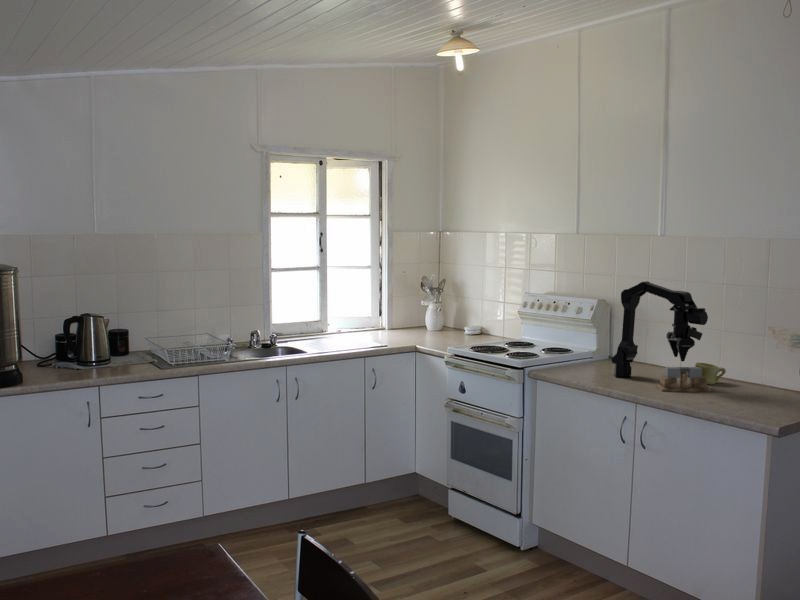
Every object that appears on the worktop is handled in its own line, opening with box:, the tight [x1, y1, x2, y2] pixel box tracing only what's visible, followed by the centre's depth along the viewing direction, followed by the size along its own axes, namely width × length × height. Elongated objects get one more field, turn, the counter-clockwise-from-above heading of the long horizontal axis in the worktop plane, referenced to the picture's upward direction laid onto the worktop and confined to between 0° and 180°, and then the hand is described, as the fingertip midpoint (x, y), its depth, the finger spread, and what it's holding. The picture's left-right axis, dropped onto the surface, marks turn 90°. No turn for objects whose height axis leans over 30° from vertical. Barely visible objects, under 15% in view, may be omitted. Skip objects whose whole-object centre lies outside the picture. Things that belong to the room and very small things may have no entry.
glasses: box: [664, 366, 702, 379], centre depth 313 cm, size 14×3×4 cm, turn 87°
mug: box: [694, 362, 727, 386], centre depth 324 cm, size 12×10×10 cm
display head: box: [655, 372, 712, 393], centre depth 313 cm, size 20×9×7 cm, turn 87°
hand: (679, 359), depth 315 cm, fingers open, 9 cm apart
